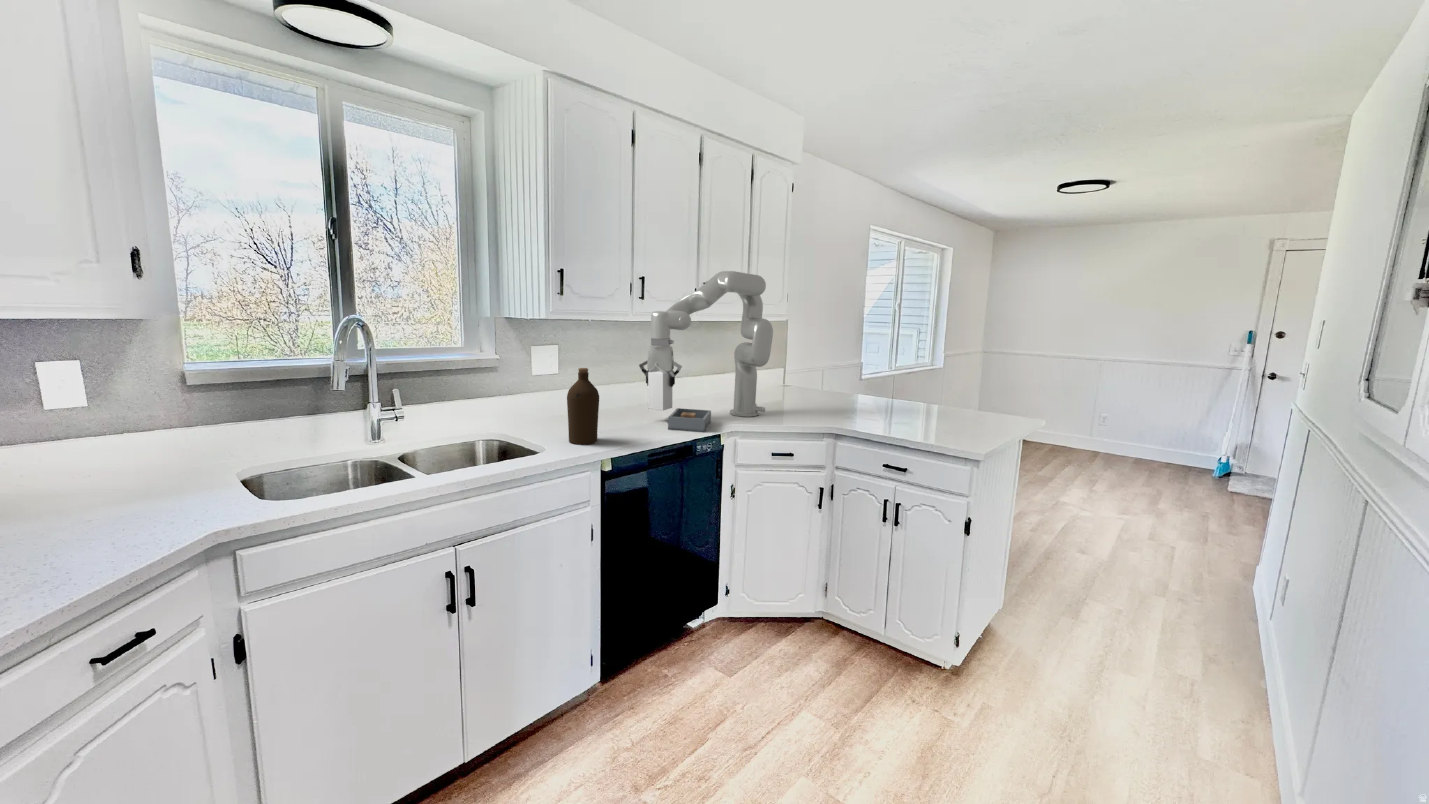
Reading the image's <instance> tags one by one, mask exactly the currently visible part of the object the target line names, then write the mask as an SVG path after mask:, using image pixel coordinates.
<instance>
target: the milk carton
mask: <svg viewBox="0 0 1429 804" xmlns="http://www.w3.org/2000/svg"><path fill="white" fill-rule="evenodd" d="M655 367H657V368H658V369H659V370H660V371H651V370H652V369H653V368H655ZM653 368H652V369H651V370H650V371H649V372H648V386H647V387H648V388H647V393H648V394H647V395H648V397H647V399H648V402H647V403H648V404H647V405H648V406H647V407H648V409H649V410H656V411H663V412H664V411H666V410H670V409H673V387H670V377H671V375H670V373H669V372H666V371H664V370H663V369H661V368H660V367H659V366H657V363H655V366H654V367H653Z"/></svg>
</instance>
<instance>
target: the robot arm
mask: <svg viewBox="0 0 1429 804" xmlns="http://www.w3.org/2000/svg"><path fill="white" fill-rule="evenodd" d="M766 284H767V283H766V280H765V279H764V278H763V277H762V275H758V274H753V273H746V272H740V271H735V270H729V271H728V270H725V271H723V270H722V271H719V272H718V273H716V274H714V276H712V277H711V278H709V279H708V280H707V281H706V282H705V283H703V285H701V286H700V287H699V288H698V289H696V290H695V291H693V292H691V293H689V294H688V295H686V296H685V297H682V298H681V299H679V300H678V301H676V302H675V303H673V305H671V306H670V307H668V309H666V311H665V310H664V311H662V310H661V311H660V310H657V311H652V312H651V314H650V315H651V316H650V345H649V346H648V347H649V348H648V350H647V351H648V352H647V360H646V361H644V362H642V363H639V365H638V366H639V369H640V370H641V372H642V373H643V374H644V376H645V384H647V385H646V386H647V387H648V372H649V371H650V370H651V369H652V368H653V367H654V366H655V363H657V366H659V367H660V368H661V369H663V370H664V371H666V372H669V373H670V375H671V377H670V387H672V388H673V387H674V385H675V384H676V382H675V381H676V378H675V377H676V376H677V375H678V374H679V373H680V371H681V369H682V368H683V366H682V365H681V364H679V363H678V362H676V361H675V359H674V348H673V346H672V344H674V343H675V341H674V340H672V339H671V330H678V331H684V330H686V329H688V328H689V327H690V326H691V323H692V317H691V315H692V314H694V313H697V312H699V311H704V310H706V309H709V308H710V307H712V306H713V305H714V304H715V303H716V302H717V301H719V299H721V298H722V297H723V296H725V294H727V293H734V294H737V295H738V296H739V297H740V299H741V301H742V316H741V324H740V334H741V336H742V338H743V339H745V340H746V339H747V340H751V341H752V342H745V341H743V342H741V343H739V344H738V345H737V346H736V347H735V349H734V352H733V353H734V357H733V358H734V365H735V366H734V367H735V368H734V369H735V373H734V374H735V375H734V376H735V377H734V378H735V379H734V392H733V393H734V395H733V408H732V409H729V414H730V415H732V416H736V417H743V418H744V417H756V416H759V412H761V413H763V412H766V407H764V406H758V405H757V403H756V399H757V395H756V394H757V384H758V383H757V382H758V380H757V379H758V371H757V368H762V367H764V366H765V365H767V364H768V362H769V361H770V356H771V351H772V344H773V343H772V342H773V336H774V329H773V328H774V327H773V324H772V323H771V321H769V320H768V319H766V318H763V311H764V303H763V300H762V297H761V295H763V293H765V291H766V288H767V285H766ZM646 365H647V366H646ZM645 366H646V367H647V369H646V368H645ZM674 367H676V370H675V371H674V369H675V368H674ZM651 371H660V370H659V369H658V368H657V367H655V368H653V369H652V370H651Z"/></svg>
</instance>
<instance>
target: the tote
mask: <svg viewBox="0 0 1429 804" xmlns="http://www.w3.org/2000/svg"><path fill="white" fill-rule="evenodd" d="M683 412H689V413H696V418H685V417H681V414H682V413H683ZM711 418H712V410H709V409H695V408H679V407H677V408H675V409H674V411H673V412H671V414H670V415H669V416H667V430H668V431H678V432H680V431H681V432H694V433H705V432H706V431H707V429H708V427H709V426H710V424H711V421H712V419H711Z"/></svg>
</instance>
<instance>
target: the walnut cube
mask: <svg viewBox="0 0 1429 804" xmlns="http://www.w3.org/2000/svg"><path fill="white" fill-rule="evenodd" d="M681 417H685V418H696V413H689V412H683V413H682V414H681Z"/></svg>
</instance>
